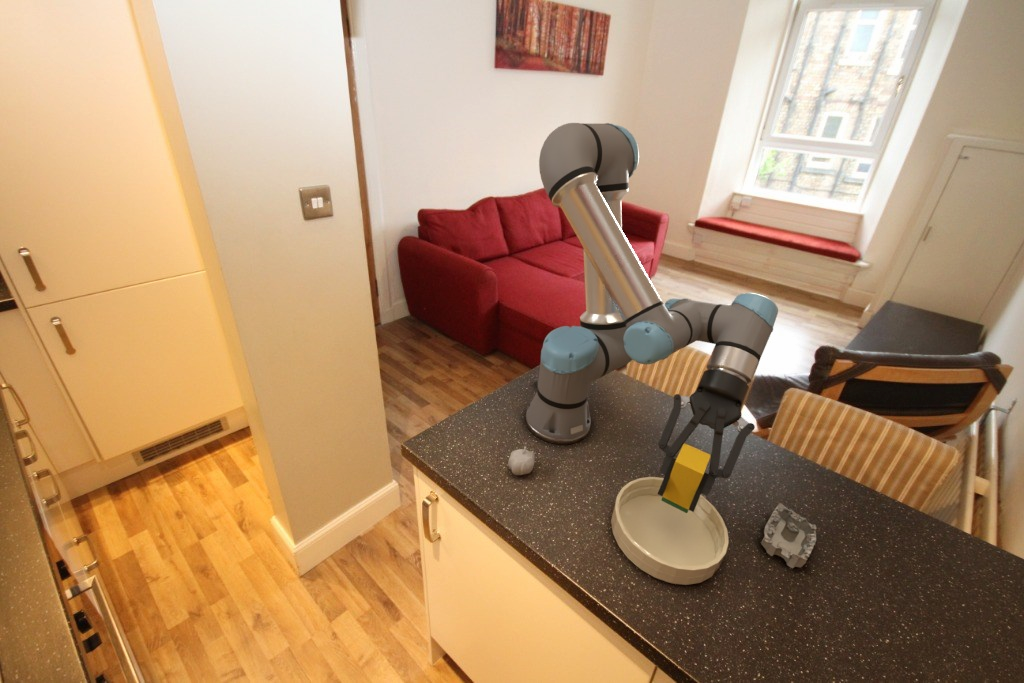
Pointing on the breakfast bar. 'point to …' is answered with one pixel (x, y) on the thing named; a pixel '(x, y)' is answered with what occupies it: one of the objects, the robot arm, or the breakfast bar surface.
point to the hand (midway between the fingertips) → (675, 502)
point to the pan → (668, 534)
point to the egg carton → (789, 536)
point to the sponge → (685, 477)
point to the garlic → (521, 461)
